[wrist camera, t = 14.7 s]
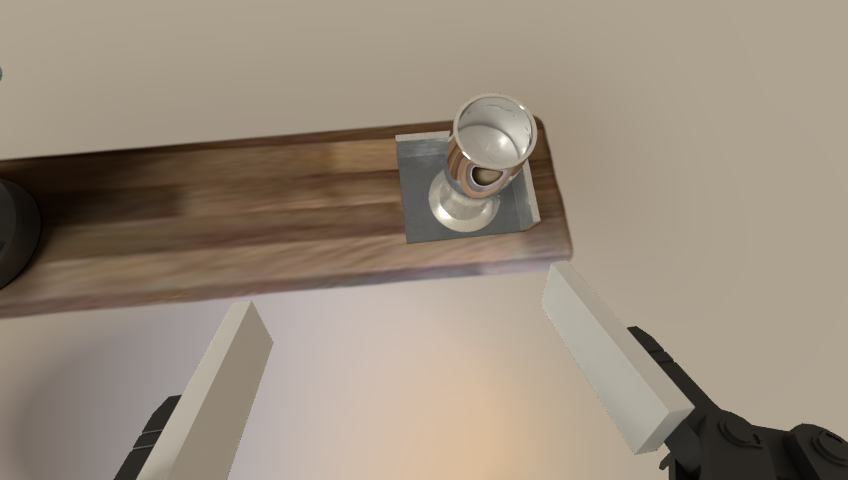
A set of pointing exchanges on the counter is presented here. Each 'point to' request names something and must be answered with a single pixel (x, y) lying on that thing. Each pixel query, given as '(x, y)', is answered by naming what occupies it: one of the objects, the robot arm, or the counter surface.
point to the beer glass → (484, 152)
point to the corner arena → (423, 185)
